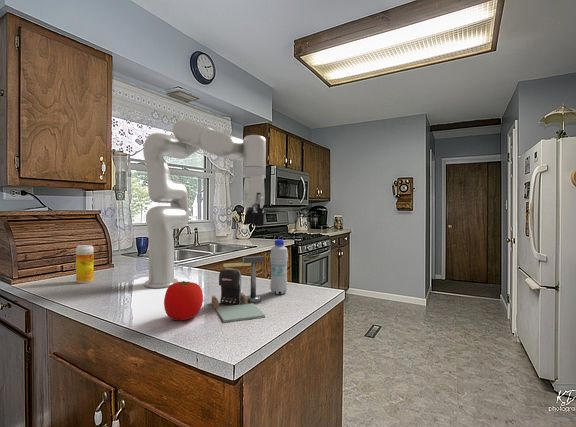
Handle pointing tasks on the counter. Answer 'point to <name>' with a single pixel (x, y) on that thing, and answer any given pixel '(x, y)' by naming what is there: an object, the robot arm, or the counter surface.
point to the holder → (216, 302)
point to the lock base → (254, 299)
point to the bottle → (279, 267)
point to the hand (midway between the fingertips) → (254, 224)
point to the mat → (239, 312)
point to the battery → (230, 286)
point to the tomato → (183, 300)
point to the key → (247, 262)
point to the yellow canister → (84, 264)
